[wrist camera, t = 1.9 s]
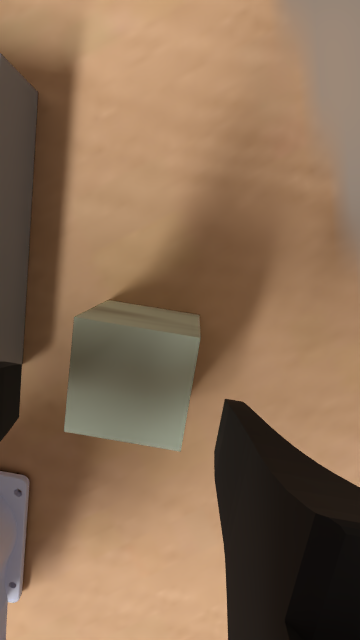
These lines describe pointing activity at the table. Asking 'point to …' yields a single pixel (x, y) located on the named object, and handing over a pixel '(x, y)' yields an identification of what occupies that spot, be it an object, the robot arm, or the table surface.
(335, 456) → the table surface
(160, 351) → the sage green cube
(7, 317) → the stacking base
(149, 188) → the table surface
